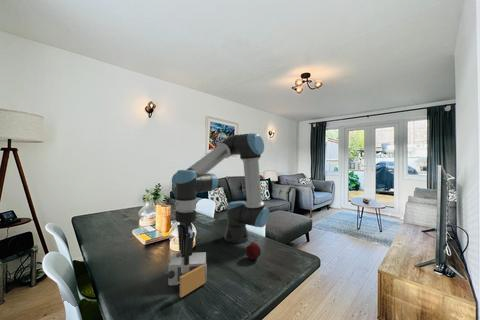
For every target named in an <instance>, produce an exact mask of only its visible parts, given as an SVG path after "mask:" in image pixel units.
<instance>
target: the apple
mask: <svg viewBox="0 0 480 320" xmlns="http://www.w3.org/2000/svg"><path fill="white" fill-rule="evenodd" d="M261 253H262V250H261V247H260V245H259V244H258V243H256V242H254V241H252V242H251V243H250V244H248V245H247V246H246V247H245V254H246V256H247V257H246V258H248V259H250V260H251V261H253V260H257V259H258V258H259V257H260V256H261Z"/></svg>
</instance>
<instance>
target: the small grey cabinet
mask: <svg viewBox="0 0 480 320" xmlns="http://www.w3.org/2000/svg"><path fill="white" fill-rule="evenodd" d="M181 255H182V254H181V252H178V253H173V255H172V257H171V259H170V261H169V264H168V266H167V267H168V268H167V269H168V274H167V279H168V280H167V281H168V285H169V286H179V285H178V284H180V276H182V275H184V274H186V273H184V274H182V273H181ZM204 264H207V252H206V251H205V252H204V251H203V252H201V251H200V252H192V255H191V256H189V272H190V271H192V270H194V269H196V268H198V267H200V266H201V265H204ZM187 273H188V272H187Z"/></svg>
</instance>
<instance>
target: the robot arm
mask: <svg viewBox="0 0 480 320" xmlns="http://www.w3.org/2000/svg"><path fill="white" fill-rule="evenodd" d="M264 151H265V142H264V139H263V138H262V136H261V135H260V134H258V133H251V132H250V133H242V134H241V133H239V134H233V135H230V136H228V137H227V138H225V139H224V140H222V141H220V142H219V143H218V144H217V145H216V147H215V148H214V149H212V150H211V151H210V152H208V153H207V154H206V155H204V156H203V157H201V158H200V159H199V160H198V161H196V162H195V163H194V164H192V165H191V166H189V167H188V168H186V169H178V170H177V171H176V172H175V173H174V174H173V175H172V177H171V184H172V186H173V187H174V188H175V202H174V206H175V210H176V211H175V221H176V222H177V223H178V224H177V225H176V226H177V227H176V228H177V234H178V236H177V237H178V248H179V249H178V251H179V252H180V253H181V254H182V255H181V273H182V274H184V273H187V272H189V256H191V255H192V253H193V250H194V249H193V248H194V240H195V239H194V238H195V237H196V233H195V231H193V225H192V223H193V222H195V221H196V219H197V218H196V217H197V216H196V215H197V210H196V209H197V194H199V193H205V192H212V191H215V190H216V189H217V188H218V186H219V178H218V176H217V175H216V174H215V173H209V172H210V171H211V170H212V169H214V168H215V167H216V166H217V165H219V164H220V163H221V162H222V161H224V159H228V158H230V157H231V156H235V155H236V156H237V155H238V156H239V157H240V160H241V161H242V162H243V172H244V174H243V175H244V182H245V194H246V195H245V196H246V201H245V200H236V201H231V202H229V203H228V204H227V207H226V210H227V211H226V217H227V218H226V219H227V221H226V222H227V223H226V224H227V225H226V229H225V232H224V240H225V242H228V243H230V244H231V243H232V244H242V243H246V242H247V241H249V233H248V232H249V231H248V229H247V226H252V227H255V228H264V227H265V226H266V224H267V223H268V222H269V221H268V220H269V219H270V210H269V208H268V207H267V206H265V202H264V201H263V200H262V189H261V187H262V186H261V176H260V175H261V174H260V164H259V160H260V159H261V158H262V156H261V155H262V154H263V153H264Z"/></svg>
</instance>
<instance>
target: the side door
mask: <svg viewBox="0 0 480 320" xmlns="http://www.w3.org/2000/svg"><path fill="white" fill-rule="evenodd" d="M207 265H208V264H207V263H206V264H204V265H201V266H200V267H198V268H196V269H194V270H192V271H190V272H188V273H186V274H184V275H182V276H180V285H179V298H183V297H185V296H187V295H188V294H190V293H191V292H193V291H195V290H196V289H198V288H199V287H201V286H203V285H204V284H206V283H207V282H208V281H207V278H208V277H207V276H208V273H207V271H208V269H207V267H208V266H207Z"/></svg>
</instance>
